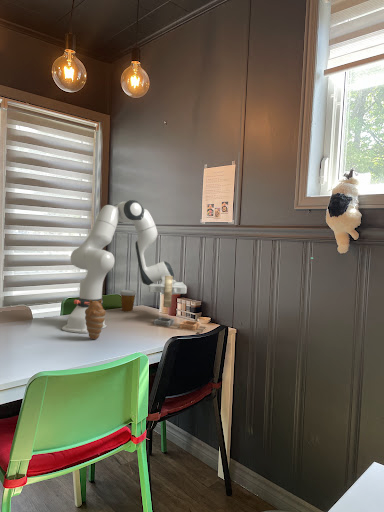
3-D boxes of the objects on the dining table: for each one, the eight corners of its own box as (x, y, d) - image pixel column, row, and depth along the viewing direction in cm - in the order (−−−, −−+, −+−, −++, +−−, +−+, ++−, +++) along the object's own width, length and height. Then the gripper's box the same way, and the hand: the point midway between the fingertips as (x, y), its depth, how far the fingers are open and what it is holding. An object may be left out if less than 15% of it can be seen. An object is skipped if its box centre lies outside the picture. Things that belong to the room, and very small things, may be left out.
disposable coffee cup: (130, 308, 241) (130, 289, 240) (138, 311, 234) (139, 291, 233) (116, 309, 235) (117, 290, 234) (124, 312, 228) (125, 292, 227)
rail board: (199, 334, 189) (199, 327, 188) (147, 327, 197) (147, 320, 197) (205, 329, 200) (206, 322, 200) (156, 322, 208) (156, 315, 208)
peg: (169, 307, 197) (171, 276, 196) (162, 306, 198) (163, 276, 197) (172, 306, 201) (173, 276, 200) (165, 305, 202) (166, 275, 201)
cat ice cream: (83, 342, 166) (85, 301, 165) (83, 336, 173) (85, 297, 172) (104, 341, 168) (106, 301, 167) (103, 336, 176) (105, 297, 175)
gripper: (149, 280, 211) (148, 284, 197) (185, 282, 213) (187, 285, 199) (148, 291, 211) (147, 296, 198) (185, 293, 213) (187, 297, 199)
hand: (168, 291), depth 198 cm, fingers closed on peg, 4 cm apart
